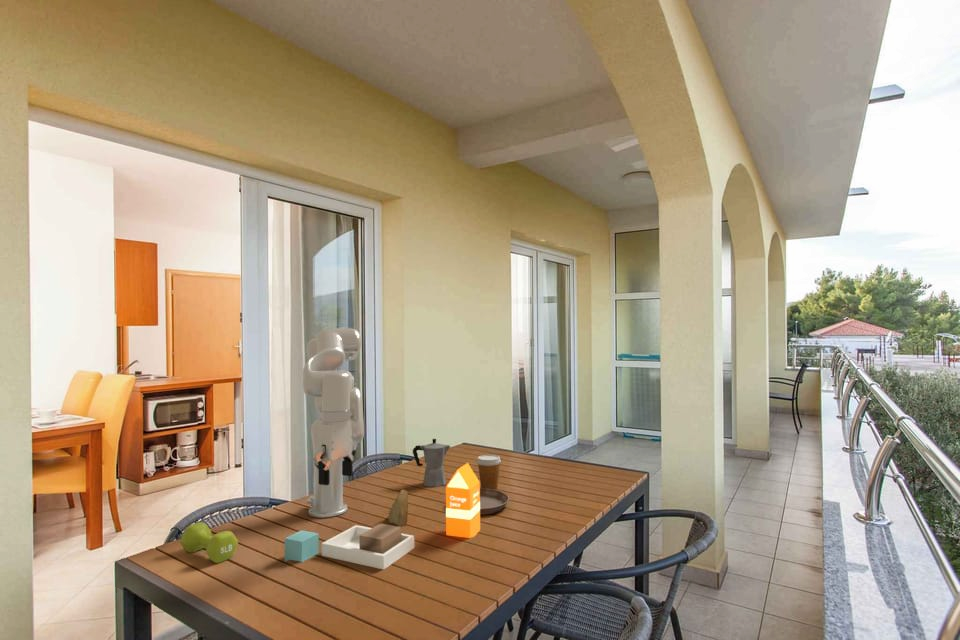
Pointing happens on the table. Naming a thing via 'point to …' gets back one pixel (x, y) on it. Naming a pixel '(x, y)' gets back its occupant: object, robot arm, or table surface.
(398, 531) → the walnut block
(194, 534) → the dumbbell
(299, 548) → the teal box
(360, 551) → the white tray
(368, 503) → the table surface
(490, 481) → the disposable coffee cup
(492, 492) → the plant saucer
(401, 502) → the rock
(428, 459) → the coffeepot
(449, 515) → the orange juice
